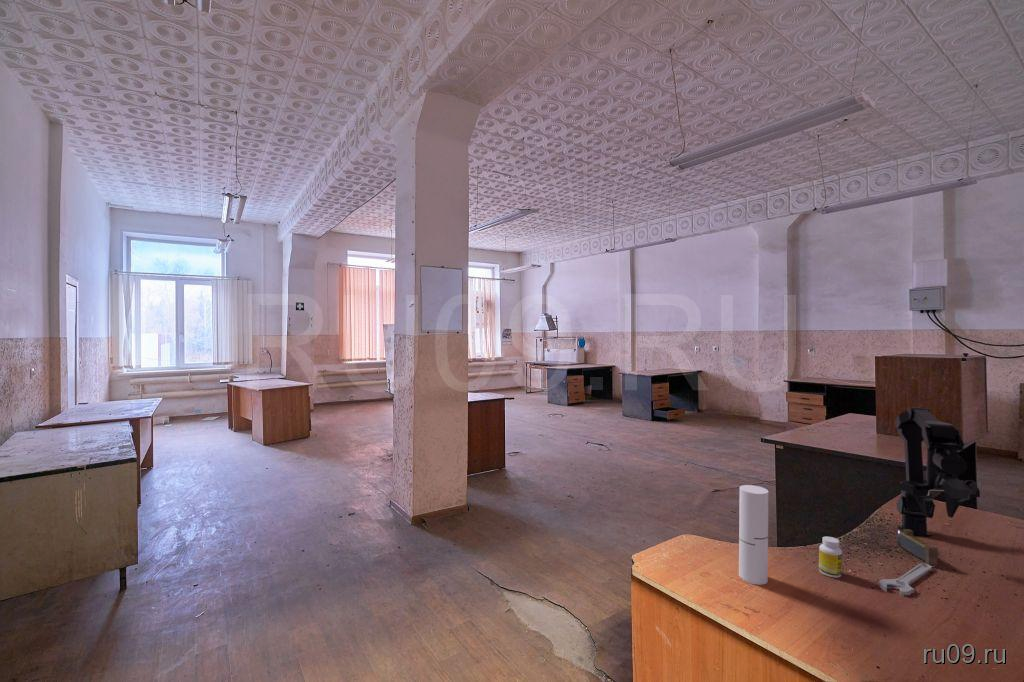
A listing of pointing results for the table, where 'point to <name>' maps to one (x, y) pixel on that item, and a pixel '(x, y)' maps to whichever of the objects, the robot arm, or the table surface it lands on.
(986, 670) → the table surface
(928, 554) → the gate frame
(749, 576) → the cylindrical container
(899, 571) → the table surface
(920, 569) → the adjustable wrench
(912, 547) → the gate panel
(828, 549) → the supplement bottle
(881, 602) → the table surface
